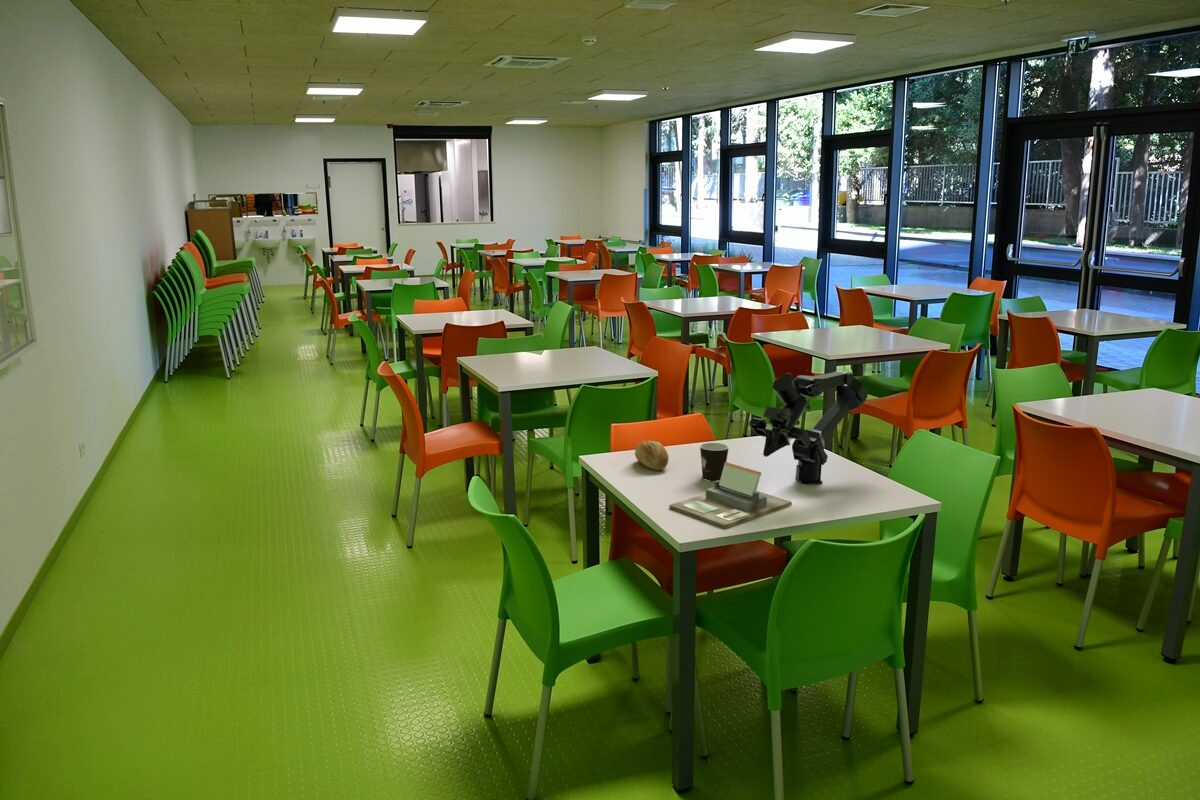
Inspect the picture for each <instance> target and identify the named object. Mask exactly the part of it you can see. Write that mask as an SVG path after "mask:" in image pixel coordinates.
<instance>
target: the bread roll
mask: <svg viewBox="0 0 1200 800" xmlns="http://www.w3.org/2000/svg"><path fill="white" fill-rule="evenodd" d="M634 451H635V452H634V456H635V458H636V459H637V461H638V462H639V463H641V464H642V465H644V466H645V467H647V468H649V469H651V470H655V471H662V470H664V469H665V468H666V467H667V466H668V464H669V461H670V459H669V454H668V451H667V450H666V448H665V446H664V445H663V444H662V443H660V442H659V441H654V440H647V441H646V440H643V441H640V442H639V443H638V444H637V446H636V447H635V450H634Z"/></svg>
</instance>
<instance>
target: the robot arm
mask: <svg viewBox="0 0 1200 800" xmlns="http://www.w3.org/2000/svg"><path fill="white" fill-rule="evenodd" d="M794 377H795V376H794V375H793V374H792V373H789V372H786V373H785V374H784V375H783V376H780V377H778V378H777V379H775V380H774V381H773V383H772V388H773V390H774V392H775V393H776V395H777V397H778V398H779V399H780V400H781V402H782V403H784V404H783V406H782V407H778V408H777V407H773V406H769V405H766V406H765V409H764V411H763V415H762V417H763V418H767V419H768V423H767V422H766V421H765V419H763V418H758V417H751V418H750V420H749V422H748V426H749V427H750V428H751V430H752V431H753V432H754V434H755V435H756V436H760V437H764V438H765V442H764V447H763V452H762V455H763V457H766V458H767V457H769V456H771V455H772V454H774V453H775V452H777V451H778V450H781V449H782V448H785V447H787V446H788V447H789V446H790V445H792V446H791V450H792V454H793V460H794V461H798V463H797V464H796V467H795V468H796V470H795V479H796V481H798V482H800V484H802V485H808V483H816V484H823V481H822V480H821V478H822V467H823V466H824V465H825V464H826V463H827V462H828V457H829V455H828V454H827V453H826V451H825V441H826V439H827V438H828V437H829V436H830V434H832V432H833V431H834V430H835V429H836V427H837V426H838V425H839V424H840V422H842V420H843V419H844V418H845V417H846V415H847V414H848V413H849V412H850V411H852V410H856V409H858V408H860V407H861V406H862V405H863V404H864V403H865V402H866V400H867V399H868V395H869V394H868V391H867V389H866V387H865V385H864V384H863V383H862V382H861V381H860V380H859V379H857V378H856V377H855V375H854V374H853V373H852V372H851V371H845V370H840V369H839V370H836V371H834V372H829V373H825V374H821V375H815V376H814V375H813V376H812V375H801V374H800V375H797V376H796V377H795V378H794ZM830 389H834V391H835V392H836V393H835V402H834V403H833V404H832V405H831V407H830V408H829V409H828V410H827V411H826V412H825V413H824V415H823V416H821V418H820V419H819V420H818V421H817V423H816V424H815V425H814V426H813V428H811V429H810V430H809V429H805V428H800V427H797V426H799V425H800V424H801V422H800V418H801V416H802V415H803V414H804V412H805V410H806V411H807V410H808V411H811V404H810V400H808V399H807V398H808V397H809V398H817V397H819V396H821V395H822V394H823V391H826V390H830ZM806 397H807V398H806ZM793 439H794V441H793V442H792V443H790V442H791V441H792V440H793Z"/></svg>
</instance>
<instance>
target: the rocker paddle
mask: <svg viewBox="0 0 1200 800" xmlns="http://www.w3.org/2000/svg"><path fill="white" fill-rule="evenodd" d="M761 476H762V472H760V471H758V470H755V469H751V468H747V467H744V466H742V465H741V466H740V465H736V464H734V463H731V462H728V461H726V462H725V464H724V468H723V472H722V475H721V479H720V483H719V484H718V486H719V487H722V488H725V489H728V490H731V491H734V492H737V493H740V494H743V495H746V496H749V497H752V498H753V494H754V493H756V491H758V490H757V489H758V486H759V482H760V479H761Z"/></svg>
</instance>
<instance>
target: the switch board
mask: <svg viewBox="0 0 1200 800" xmlns="http://www.w3.org/2000/svg"><path fill="white" fill-rule="evenodd" d="M719 483H720V481H719V480H718V481H714V486H713V487H710V488H707V489H705V490H706V491H705V493H704V494H700V495H697V496H694V497H691V498H687V499H684V500H681V501H678V502H673V503H670V504H669V508H668V509H670V508H671V509H670V510H673V511H675V510H676V512H678V511H679V513H681V514H684V515H686V516H690V517H692V518H695V519H697V520H700V521H703V522H706V523H708V524H711V525H713V526H716V527H719V528H722V529H727V528H728V529H729V528H731V527H734V526H736V524H737V525H739V523H740V524H742V522H743V523H744V522H745V523H746V522H748V521H751V520H754V519H757V518H759V516H760V517H762V516H764V515H768V514H771V513H774V512H776V510H777V511H779V510H782V509H784V507H785V508H788V507H790V506H789V505H791V506H792V503H793V502H792V501H791V500H787V499H784V498H781V497H778V496H775V495H773V494H772V495H771V494H768V493H766V492H761V491H759V490H756V493H754V494H753V498H752V497H749V496H746V495H743V494H740V493H737V492H734V491H731V490H728V489H725V488H722V487H719V486H718V484H719ZM787 506H788V507H787ZM781 508H782V509H781ZM778 509H779V510H778ZM773 511H774V512H773ZM770 512H771V513H770ZM756 517H757V518H756ZM753 518H754V519H753Z"/></svg>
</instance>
